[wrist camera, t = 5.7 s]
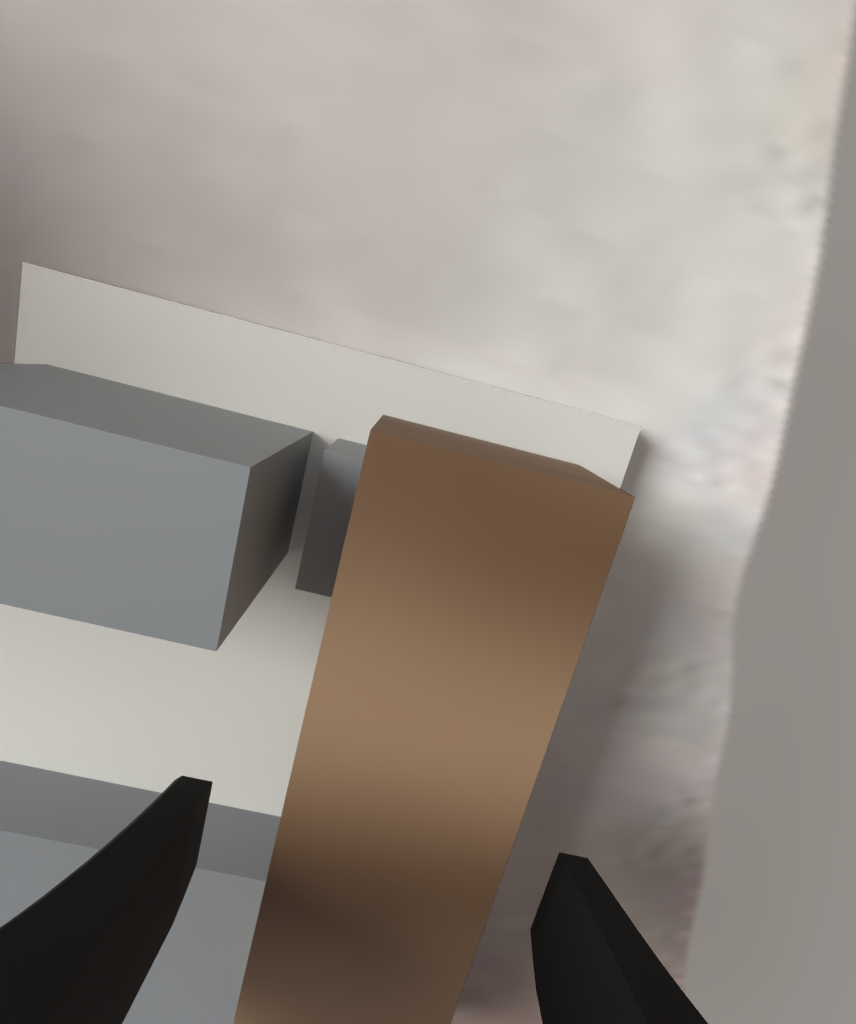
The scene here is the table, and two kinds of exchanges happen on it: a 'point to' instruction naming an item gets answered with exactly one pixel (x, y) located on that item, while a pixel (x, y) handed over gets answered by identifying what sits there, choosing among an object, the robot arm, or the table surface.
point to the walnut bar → (425, 722)
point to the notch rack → (188, 581)
